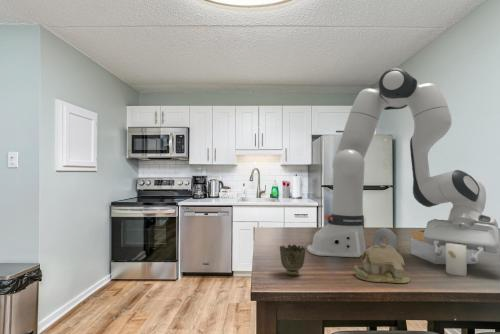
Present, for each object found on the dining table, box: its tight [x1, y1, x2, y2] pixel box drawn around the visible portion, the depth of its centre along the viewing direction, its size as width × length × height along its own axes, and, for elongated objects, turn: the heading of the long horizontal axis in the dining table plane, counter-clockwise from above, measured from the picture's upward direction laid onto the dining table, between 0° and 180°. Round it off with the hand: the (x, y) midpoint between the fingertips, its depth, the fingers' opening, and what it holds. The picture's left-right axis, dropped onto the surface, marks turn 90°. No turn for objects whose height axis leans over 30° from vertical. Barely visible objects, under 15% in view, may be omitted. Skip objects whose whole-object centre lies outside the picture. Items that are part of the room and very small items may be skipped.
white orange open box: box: [410, 229, 476, 265], centre depth 113 cm, size 17×14×9 cm
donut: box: [372, 227, 399, 251], centre depth 117 cm, size 10×4×10 cm, turn 27°
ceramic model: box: [353, 242, 411, 284], centre depth 90 cm, size 14×11×10 cm
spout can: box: [445, 243, 468, 277], centre depth 94 cm, size 9×5×8 cm, turn 133°
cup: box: [279, 243, 307, 277], centre depth 92 cm, size 8×7×8 cm
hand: (455, 257), depth 95 cm, fingers open, 8 cm apart
